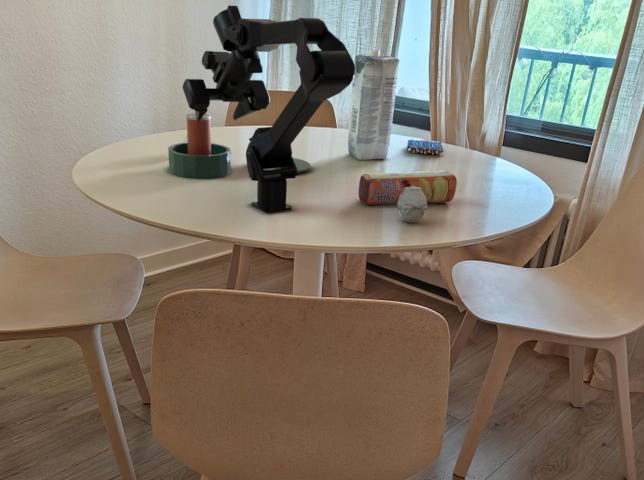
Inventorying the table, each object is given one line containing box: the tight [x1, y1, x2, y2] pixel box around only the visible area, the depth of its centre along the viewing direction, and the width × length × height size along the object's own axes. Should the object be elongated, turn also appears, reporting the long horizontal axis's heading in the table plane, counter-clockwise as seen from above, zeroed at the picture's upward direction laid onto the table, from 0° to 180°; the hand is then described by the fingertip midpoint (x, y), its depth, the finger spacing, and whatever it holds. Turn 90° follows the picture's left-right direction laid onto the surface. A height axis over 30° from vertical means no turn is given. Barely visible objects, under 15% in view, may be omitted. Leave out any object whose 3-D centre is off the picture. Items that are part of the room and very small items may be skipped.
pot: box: [167, 142, 232, 180], centre depth 157 cm, size 15×15×5 cm
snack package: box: [358, 169, 458, 206], centre depth 142 cm, size 21×7×7 cm, turn 105°
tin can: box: [185, 112, 212, 155], centre depth 155 cm, size 6×6×12 cm
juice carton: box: [347, 50, 400, 161], centre depth 174 cm, size 9×10×27 cm
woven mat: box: [406, 139, 444, 156], centre depth 191 cm, size 10×11×2 cm
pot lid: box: [263, 157, 311, 174], centre depth 163 cm, size 16×16×6 cm
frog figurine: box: [396, 186, 428, 224], centre depth 130 cm, size 6×7×7 cm
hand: (215, 118), depth 146 cm, fingers open, 9 cm apart
